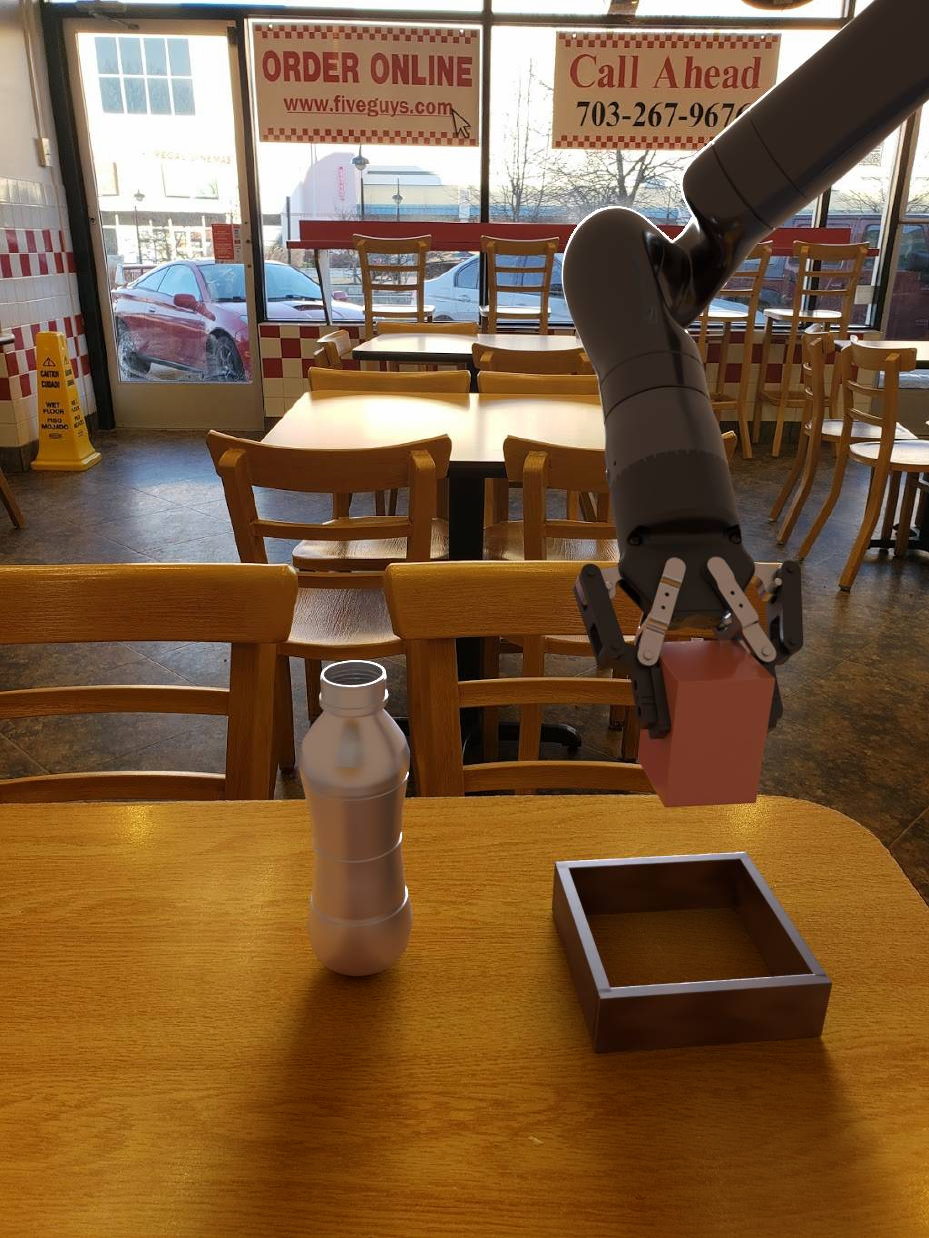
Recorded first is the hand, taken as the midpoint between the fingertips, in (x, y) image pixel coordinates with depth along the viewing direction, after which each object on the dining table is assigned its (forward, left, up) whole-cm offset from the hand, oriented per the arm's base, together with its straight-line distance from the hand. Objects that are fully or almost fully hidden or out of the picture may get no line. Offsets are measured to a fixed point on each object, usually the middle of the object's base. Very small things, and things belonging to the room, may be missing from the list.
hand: (713, 732), depth 53 cm
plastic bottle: (+20, -3, -18) cm, 27 cm away
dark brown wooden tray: (0, 0, -17) cm, 17 cm away
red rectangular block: (0, -2, -4) cm, 5 cm away
